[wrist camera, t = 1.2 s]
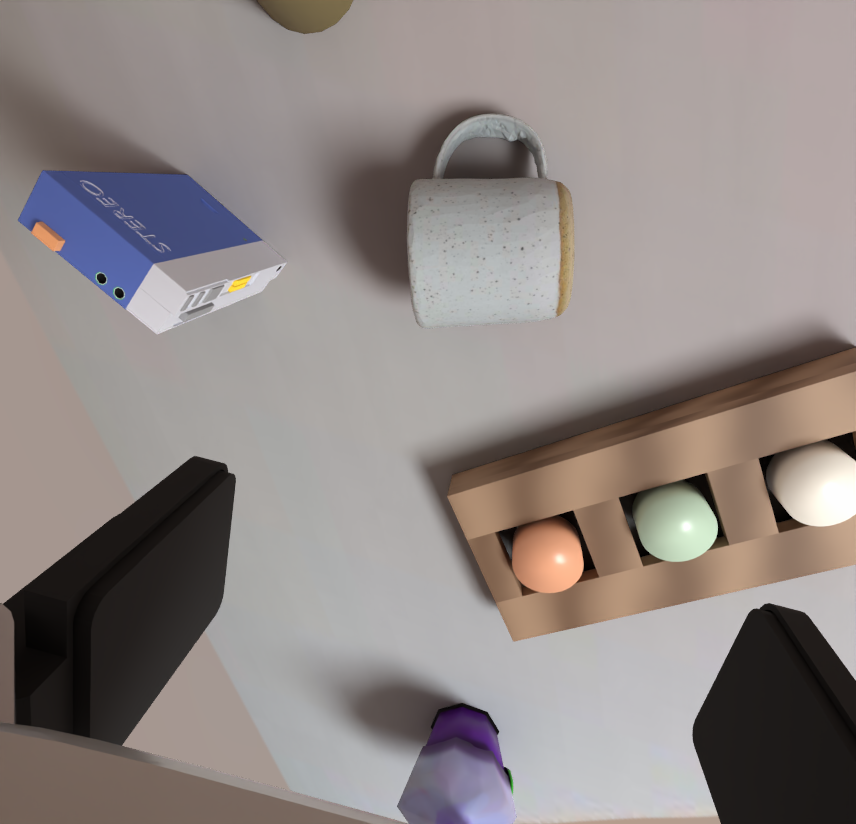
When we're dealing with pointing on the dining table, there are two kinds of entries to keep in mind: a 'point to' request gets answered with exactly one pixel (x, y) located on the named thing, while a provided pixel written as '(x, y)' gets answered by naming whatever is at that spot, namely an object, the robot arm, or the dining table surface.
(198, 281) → the walkman
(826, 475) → the cream button
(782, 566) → the button deck
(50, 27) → the dining table surface
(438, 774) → the potion bottle
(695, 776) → the dining table surface
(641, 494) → the sage button
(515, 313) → the ceramic mug
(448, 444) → the dining table surface
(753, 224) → the dining table surface
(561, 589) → the terracotta button
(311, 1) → the cork
